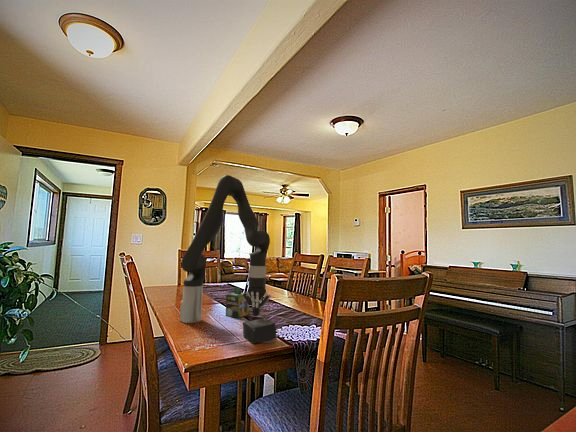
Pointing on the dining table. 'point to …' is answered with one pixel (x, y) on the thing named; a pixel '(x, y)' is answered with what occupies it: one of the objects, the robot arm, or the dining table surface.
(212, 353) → the dining table surface
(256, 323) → the small box
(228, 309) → the chalk box
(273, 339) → the felt mat
